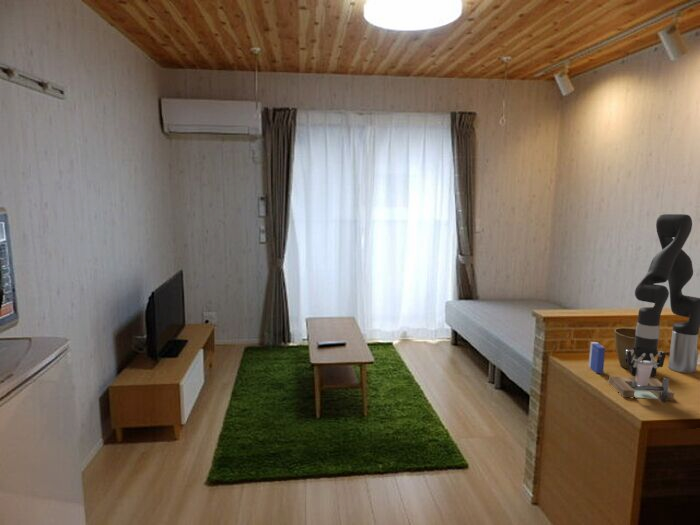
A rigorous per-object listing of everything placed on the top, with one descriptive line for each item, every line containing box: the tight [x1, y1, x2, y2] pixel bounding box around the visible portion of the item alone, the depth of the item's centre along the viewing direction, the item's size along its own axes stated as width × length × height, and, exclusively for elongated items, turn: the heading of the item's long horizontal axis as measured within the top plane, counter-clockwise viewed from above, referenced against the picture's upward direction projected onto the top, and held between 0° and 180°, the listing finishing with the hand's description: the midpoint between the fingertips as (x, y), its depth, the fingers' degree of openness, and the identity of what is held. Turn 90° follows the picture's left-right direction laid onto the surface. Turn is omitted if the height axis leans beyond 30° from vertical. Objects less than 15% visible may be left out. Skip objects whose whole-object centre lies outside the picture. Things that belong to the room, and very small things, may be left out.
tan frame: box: [608, 375, 675, 401], centre depth 180 cm, size 18×13×3 cm
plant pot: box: [614, 327, 638, 370], centre depth 204 cm, size 15×15×16 cm
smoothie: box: [635, 360, 654, 386], centre depth 177 cm, size 6×6×14 cm
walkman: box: [588, 341, 606, 374], centre depth 201 cm, size 8×3×12 cm, turn 176°
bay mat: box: [632, 388, 659, 400], centre depth 179 cm, size 9×9×1 cm
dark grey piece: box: [632, 377, 670, 403], centre depth 172 cm, size 13×2×9 cm, turn 82°
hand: (642, 375), depth 178 cm, fingers closed on smoothie, 6 cm apart
